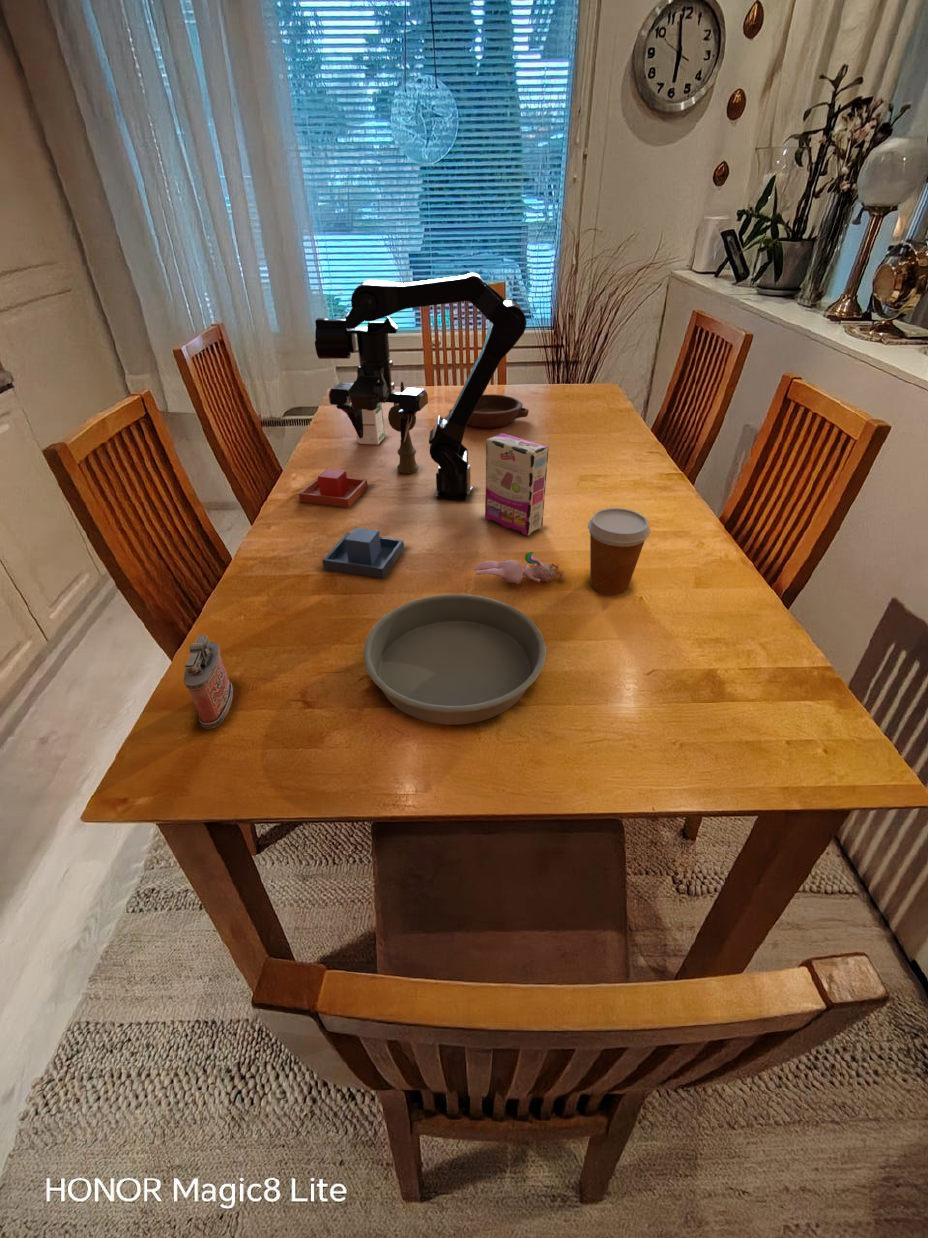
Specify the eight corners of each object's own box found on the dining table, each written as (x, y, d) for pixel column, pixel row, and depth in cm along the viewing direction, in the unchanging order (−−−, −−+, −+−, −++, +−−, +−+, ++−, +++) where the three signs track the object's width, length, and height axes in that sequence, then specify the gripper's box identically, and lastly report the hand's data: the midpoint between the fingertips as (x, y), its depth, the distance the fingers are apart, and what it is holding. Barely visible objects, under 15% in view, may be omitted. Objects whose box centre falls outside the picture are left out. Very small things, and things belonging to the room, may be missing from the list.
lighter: (212, 685, 80) (190, 627, 74) (237, 683, 80) (218, 625, 74) (195, 729, 74) (170, 670, 68) (223, 727, 74) (201, 668, 68)
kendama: (392, 479, 133) (385, 388, 121) (397, 462, 141) (390, 375, 129) (419, 479, 133) (414, 387, 121) (422, 462, 141) (417, 375, 129)
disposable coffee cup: (604, 607, 94) (615, 541, 86) (569, 578, 100) (576, 514, 93) (650, 591, 97) (665, 526, 90) (613, 564, 104) (624, 501, 96)
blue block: (381, 552, 107) (379, 530, 104) (371, 565, 103) (369, 542, 101) (358, 549, 108) (355, 527, 105) (348, 561, 104) (344, 539, 102)
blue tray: (404, 549, 108) (403, 539, 107) (383, 578, 101) (382, 568, 100) (348, 541, 111) (347, 532, 110) (323, 569, 103) (322, 559, 102)
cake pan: (573, 711, 76) (577, 686, 73) (384, 755, 70) (380, 729, 67) (508, 604, 94) (509, 580, 92) (354, 632, 89) (351, 608, 86)
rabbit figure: (551, 573, 104) (469, 570, 100) (560, 544, 100) (475, 539, 97) (562, 593, 99) (476, 590, 95) (571, 563, 96) (482, 559, 92)
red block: (348, 489, 128) (346, 470, 125) (339, 498, 125) (336, 478, 122) (329, 487, 129) (326, 468, 126) (320, 496, 126) (317, 476, 123)
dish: (532, 431, 157) (533, 412, 154) (449, 432, 157) (449, 414, 154) (524, 410, 171) (525, 392, 168) (448, 411, 171) (448, 393, 167)
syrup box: (378, 445, 150) (372, 386, 141) (356, 443, 151) (349, 385, 142) (385, 437, 154) (380, 379, 146) (364, 435, 155) (357, 378, 147)
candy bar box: (543, 528, 114) (550, 445, 105) (527, 537, 112) (533, 453, 102) (499, 510, 121) (502, 431, 111) (483, 518, 118) (484, 438, 108)
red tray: (368, 487, 130) (367, 479, 129) (348, 507, 122) (347, 499, 121) (322, 482, 132) (320, 474, 131) (300, 501, 125) (298, 493, 123)
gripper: (309, 366, 106) (322, 449, 116) (406, 372, 102) (411, 459, 112) (336, 351, 115) (346, 430, 124) (427, 357, 111) (430, 438, 120)
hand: (382, 439), depth 120 cm, fingers open, 9 cm apart
